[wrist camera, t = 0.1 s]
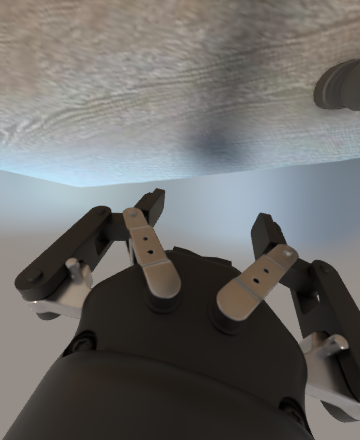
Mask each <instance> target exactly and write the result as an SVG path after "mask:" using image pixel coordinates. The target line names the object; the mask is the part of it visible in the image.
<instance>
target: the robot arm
mask: <svg viewBox="0 0 360 440" xmlns="http://www.w3.org/2000/svg"><path fill="white" fill-rule="evenodd" d="M164 199H165V190H162V189H158V188H156V189H155V190H154V192H153V193H150V192H149V193H147V194H145V195H144V196H143V197H142V198H141V200H139V202H138V203H137V204H136V205H135V206H134V207H132V208H127V209H125V210H124V211H123V213H111V209H110V208H109V207H107V206H97V207H94V208H92V209H91V210H90V211H89V212H88V213H86V214H85V215H84V216H83V217H82V218H81V219H80V220H79V221H78V222H77V223H75V224H74V225H73V226H72V227H71V228H70V229H69V230H68V231H67V232H66V233H64V234H63V235H62V236H61V237H60V238H59V239H58V240H56V242H54V243H53V244H52V245H51V246H50V247H49V248H48V249H47V250H45V251H44V252H43V253H42V254H41V255H40V256H39V257H38V258H37V259H36V260H34V261H33V262H32V263H31V264H30V265H29V266H28V267H27V268H25V269H24V270H23V271H22V272H21V273H20V274H19V275H18V276H17V278H16V279H15V286H16V288H17V290H18V291H19V292H20V293H21V295H22V297H23V299H24V300H25V301H26V303H27V304H28V305H29V306H30V308H31V309H32V310H33V311H34V312H35V313H36V314H37V315H38V316H39V318H40V319H42V320H52V319H55V318H57V317H58V316H60V315H65V316H69V317H73V318H77V319H80V322H79V326H78V329H77V331H76V333H75V336H74V338H73V339H72V341H71V343H70V344H69V345H68V347H67V348H66V349H65V350H64V352H63V353H62V354H61V355H60V356H59V358H58V359H57V360H56V361H55V362H54V364H53V365H52V366H51V367H50V369H49V370H48V372H47V373H46V375H45V376H44V377H43V379H42V380H41V382H40V384H39V385H38V387H37V388H36V390H35V391H34V393H33V394H32V396H31V397H30V399H29V400H28V402H27V403H26V405H25V406H24V408H23V409H22V411H21V412H20V414H19V415H18V417H17V418H16V420H15V421H14V423H13V424H12V426H11V427H10V429H9V430H8V432H7V434H6V435H5V437H4V438H3V440H315V439H314V437H313V435H312V433H311V430H310V428H309V425H308V422H307V419H306V414H305V394H308V395H310V396H312V397H315V398H317V399H320V401H321V402H322V404H323V406H324V407H325V408H326V410H327V411H328V412H329V413H330V414H331V415H332V416H333V417H334V418H335V419H337V420H339V421H341V422H353V421H360V311H359V309H358V307H357V306H356V304H355V302H354V300H353V299H352V297H351V295H350V293H349V292H348V290H347V288H346V286H345V285H344V283H343V281H342V279H341V277H340V276H339V274H338V272H337V271H336V270H335V269H334V268H333V267H332V266H331V265H329V264H328V263H326V262H324V261H321V260H314V261H313V262H312V263H311V264H310V263H308V262H306V261H304V260H302V259H300V258H298V257H299V256H298V253H297V252H296V251H295V250H294V249H293V248H292V247H290V246H288V245H287V243H286V241H285V238H284V236H283V233H282V232H281V228H280V226H279V225H278V224H277V223H276V222H273V220H272V217H271V215H269V214H264V213H260V214H259V215H258V217H257V219H256V221H255V223H254V225H253V227H252V230H251V238H252V244H253V250H254V255H255V262H254V263H253V264H252V265H251V266H250V267H248V268H247V269H246V270H245V271H244V272H243V273H241V272H240V271H239V270H237V269H236V268H234V267H233V266H232V263H231V261H228V260H224V259H221V258H217V257H202V256H200V255H198V254H196V253H193V252H191V251H189V250H187V249H183V248H179V247H175V246H174V248H173V250H166V251H164V250H163V248H162V245H161V244H160V241H159V239H158V237H157V235H156V233H155V231H154V229H153V227H154V225H155V223H156V222H157V220H158V218H159V217H160V215H161V213H162V211H163V208H164ZM114 241H125V244H126V248H127V251H128V255H129V259H130V264H131V266H130V267H129V268H126V269H125V270H123V271H121V272H119V273H117V274H115V275H113V276H111V277H109V278H107V279H105V280H103V281H102V282H100V283H98V284H97V285H96V286H95V287H94V288H91V285H92V284H93V277H92V274H91V273H92V272H93V270H94V269H95V267H96V266H97V265H98V263H99V262H100V260H101V259H102V257H103V256H104V255H105V253H106V252H107V250H108V249H109V247H110V246H111V245H112V243H113V242H114ZM278 282H279V283H281V284H283V285H284V286H286V287H288V288H290V291H291V295H292V299H293V302H294V306H295V310H296V314H297V317H298V321H299V325H300V329H301V333H302V336H303V340H302V341H301V342H300V344H298V342H297V341H296V340H295V338H294V337H293V336H292V334H291V333H290V332H289V331H288V329H287V328H286V327H285V326H284V324H283V323H282V322H281V320H280V319H279V318H278V317H277V315H276V314H275V313H274V312H273V310H272V309H271V308H270V307H269V305H268V304H267V303H266V302H265V300H264V299H265V297H266V296H267V295H268V294H269V293H270V291H271V290H272V289H273V288H274V287H275V285H276V284H277V283H278ZM317 295H319V301H318V298H317Z"/></svg>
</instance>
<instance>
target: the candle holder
mask: <svg viewBox="0 0 360 440" xmlns="http://www.w3.org/2000/svg"><path fill="white" fill-rule="evenodd" d="M314 101H315V103H316V104H317V106H319V107H321V108H323V109H342V108H349V109H351V110H353V111H360V59H358V60H350V61H347V62H344V63H341V64H339V65H336V66H334V67H332V68H330V69H329V70H328V71H327V72H326V73H325V74H323V75H322V77H321V78H320V80H319V81H318V83H317V84H316V87H315V90H314Z"/></svg>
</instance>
